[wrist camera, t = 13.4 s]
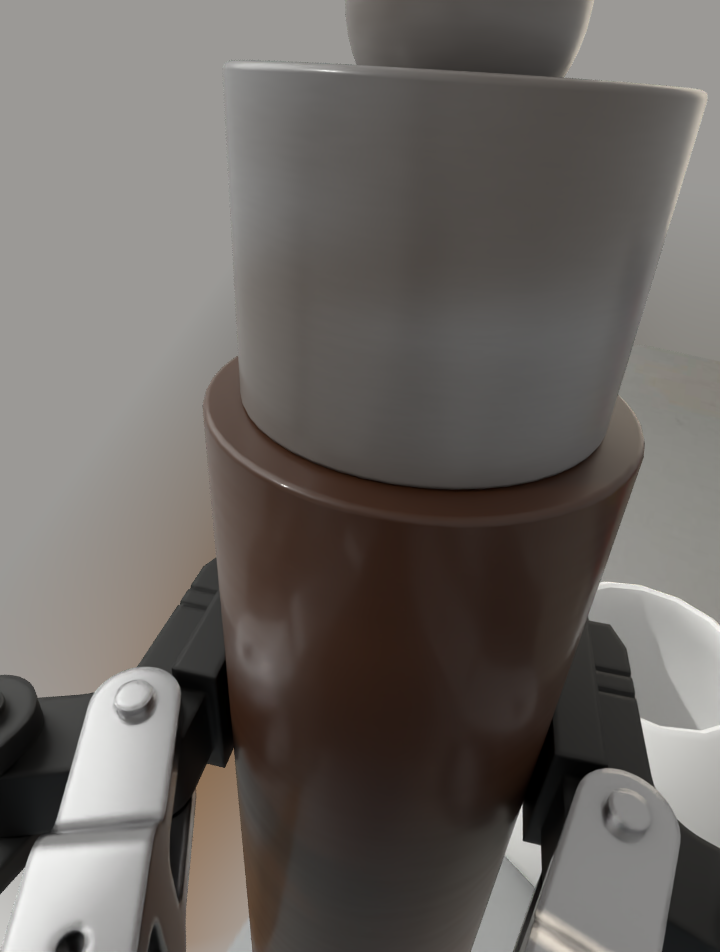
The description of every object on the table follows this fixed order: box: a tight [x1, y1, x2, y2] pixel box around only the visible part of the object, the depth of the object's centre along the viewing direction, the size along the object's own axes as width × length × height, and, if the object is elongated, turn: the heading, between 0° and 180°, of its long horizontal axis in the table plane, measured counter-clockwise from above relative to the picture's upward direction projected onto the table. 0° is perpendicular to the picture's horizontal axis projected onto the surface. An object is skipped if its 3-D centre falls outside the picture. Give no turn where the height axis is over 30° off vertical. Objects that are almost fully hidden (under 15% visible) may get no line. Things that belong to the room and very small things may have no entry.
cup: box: [505, 582, 720, 887], centre depth 31 cm, size 13×13×14 cm
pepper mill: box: [203, 0, 707, 952], centre depth 11 cm, size 5×5×22 cm
